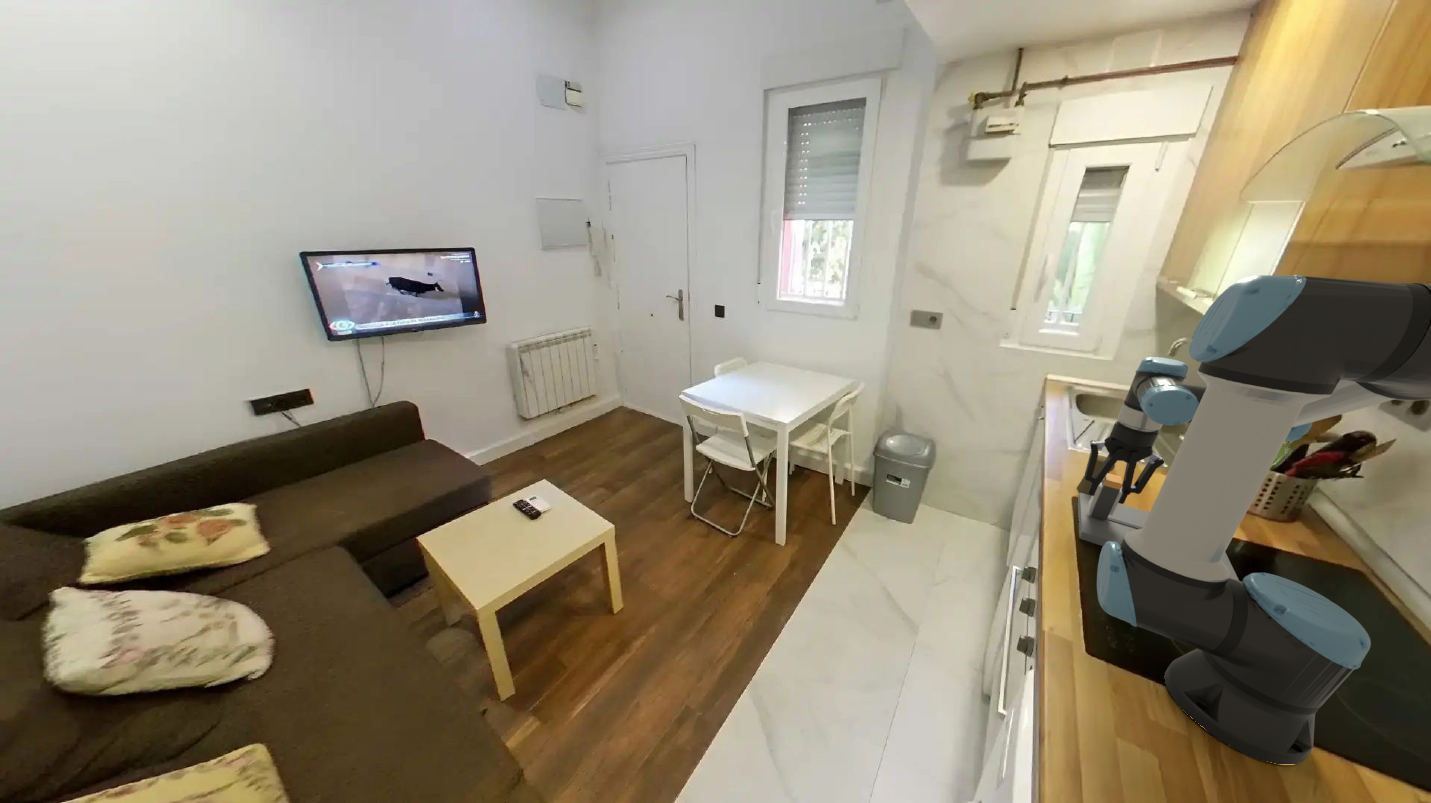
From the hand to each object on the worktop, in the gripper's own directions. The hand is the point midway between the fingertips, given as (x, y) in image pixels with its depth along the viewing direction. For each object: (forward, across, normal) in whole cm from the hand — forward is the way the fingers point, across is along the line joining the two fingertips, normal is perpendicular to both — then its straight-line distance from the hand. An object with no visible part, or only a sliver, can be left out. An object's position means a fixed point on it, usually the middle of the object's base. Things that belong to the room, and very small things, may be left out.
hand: (1100, 508), depth 110 cm
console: (+4, -10, 0) cm, 11 cm away
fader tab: (+2, 0, 0) cm, 2 cm away
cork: (+4, 0, -16) cm, 17 cm away
